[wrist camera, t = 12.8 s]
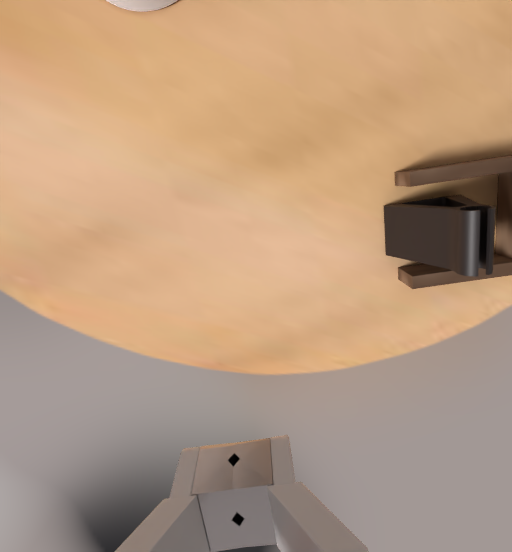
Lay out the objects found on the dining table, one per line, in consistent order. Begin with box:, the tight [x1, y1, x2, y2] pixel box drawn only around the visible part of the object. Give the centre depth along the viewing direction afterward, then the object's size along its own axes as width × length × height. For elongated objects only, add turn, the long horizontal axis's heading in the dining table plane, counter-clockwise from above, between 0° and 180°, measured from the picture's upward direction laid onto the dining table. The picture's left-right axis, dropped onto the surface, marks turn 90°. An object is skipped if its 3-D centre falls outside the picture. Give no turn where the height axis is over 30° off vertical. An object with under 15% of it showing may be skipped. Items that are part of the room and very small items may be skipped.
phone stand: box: [384, 195, 496, 277], centre depth 37 cm, size 9×6×12 cm, turn 98°
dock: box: [395, 155, 512, 289], centre depth 40 cm, size 13×14×4 cm
